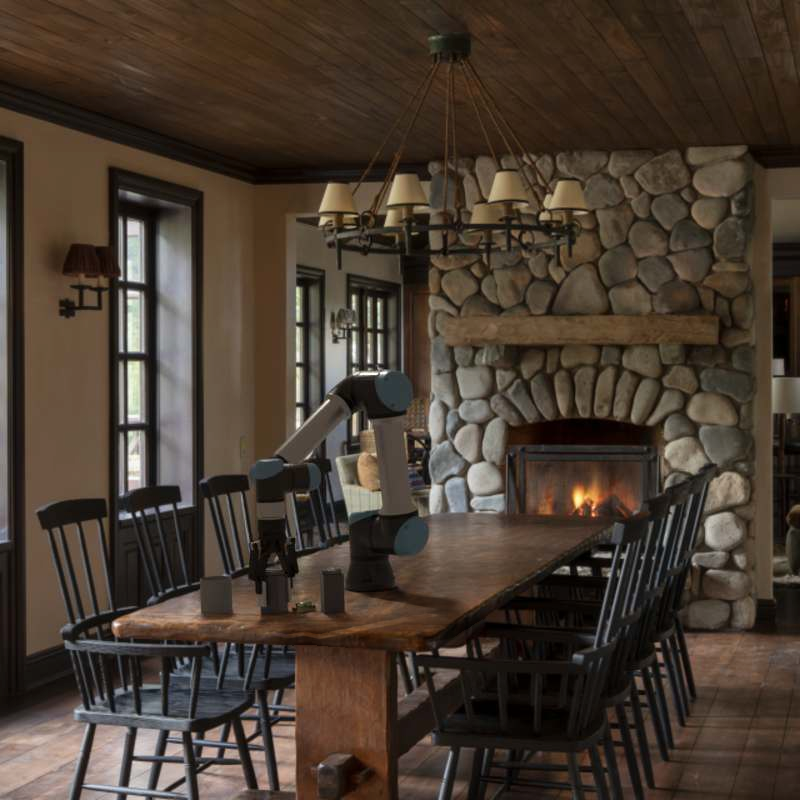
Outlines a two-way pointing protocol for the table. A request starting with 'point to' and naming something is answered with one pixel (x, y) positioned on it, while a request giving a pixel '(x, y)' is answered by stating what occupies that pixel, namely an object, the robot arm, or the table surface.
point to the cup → (216, 594)
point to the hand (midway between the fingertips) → (275, 603)
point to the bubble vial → (303, 607)
